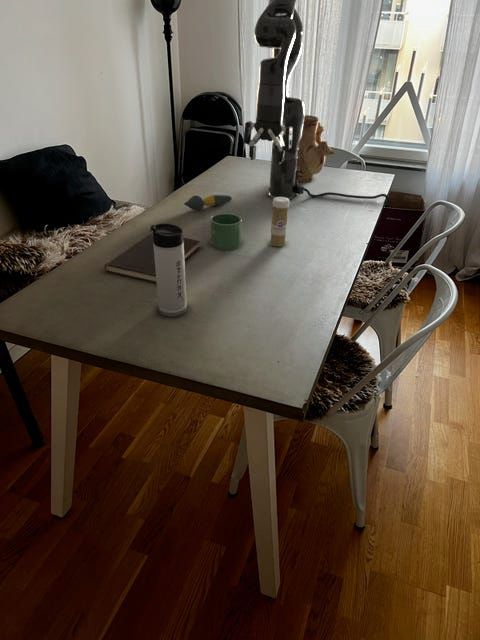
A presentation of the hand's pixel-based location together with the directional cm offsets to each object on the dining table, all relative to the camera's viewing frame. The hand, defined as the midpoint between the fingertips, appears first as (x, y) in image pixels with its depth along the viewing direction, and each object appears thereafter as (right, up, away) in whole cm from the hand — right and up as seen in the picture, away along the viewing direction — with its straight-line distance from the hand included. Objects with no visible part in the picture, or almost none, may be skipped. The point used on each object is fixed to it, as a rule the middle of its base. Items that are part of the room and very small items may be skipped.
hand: (266, 161), depth 139 cm
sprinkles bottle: (+3, -25, -2) cm, 25 cm away
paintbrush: (-19, -8, +23) cm, 30 cm away
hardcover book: (-31, -31, -12) cm, 45 cm away
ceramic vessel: (+19, +10, +52) cm, 56 cm away
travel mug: (-23, -45, -33) cm, 60 cm away
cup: (-12, -25, -2) cm, 28 cm away
